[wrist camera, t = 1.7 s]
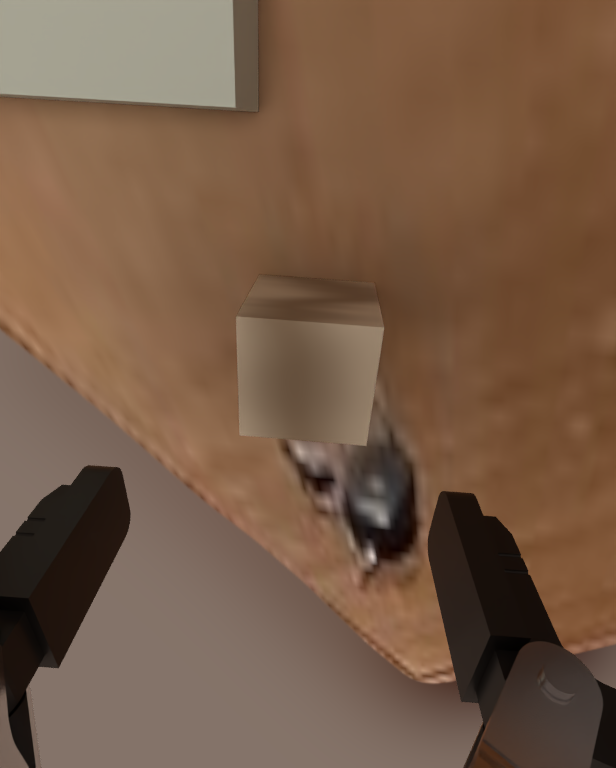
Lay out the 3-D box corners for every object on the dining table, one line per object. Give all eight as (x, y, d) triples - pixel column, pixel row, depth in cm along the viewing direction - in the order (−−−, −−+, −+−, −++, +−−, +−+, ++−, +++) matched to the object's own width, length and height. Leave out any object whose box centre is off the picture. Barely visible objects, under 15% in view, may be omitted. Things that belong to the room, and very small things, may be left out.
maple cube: (374, 282, 19) (384, 327, 15) (361, 382, 22) (366, 445, 17) (259, 273, 19) (235, 316, 15) (259, 374, 22) (239, 435, 17)
